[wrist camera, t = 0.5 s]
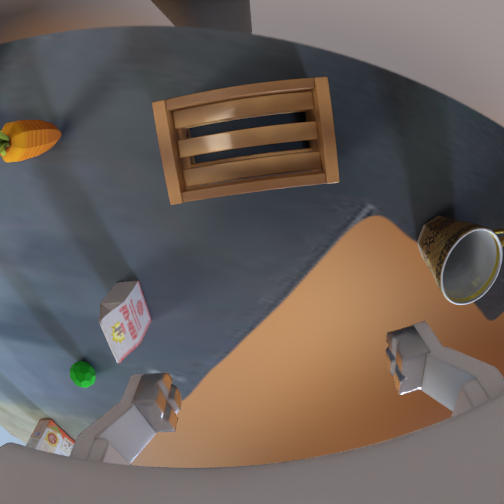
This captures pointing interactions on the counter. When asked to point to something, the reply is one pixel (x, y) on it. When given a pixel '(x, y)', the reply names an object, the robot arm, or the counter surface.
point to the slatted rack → (247, 139)
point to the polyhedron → (82, 374)
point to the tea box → (124, 318)
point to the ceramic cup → (461, 257)
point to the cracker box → (50, 438)
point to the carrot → (27, 139)
